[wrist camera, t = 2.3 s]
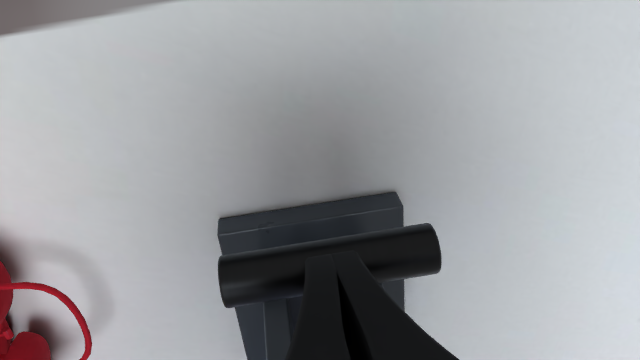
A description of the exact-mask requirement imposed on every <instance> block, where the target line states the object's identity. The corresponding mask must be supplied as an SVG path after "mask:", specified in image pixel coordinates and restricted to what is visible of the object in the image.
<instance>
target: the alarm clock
mask: <svg viewBox="0 0 640 360" xmlns="http://www.w3.org/2000/svg"><path fill="white" fill-rule="evenodd" d="M13 289H35V290H41V291H45V292H47V293H49V294H52V295H54V296H56V297H57V298H58V299H60V300H61V301H62V302H63V303H64V304H65V305H66V306H67V307H68V308H69V309H70V310H71V312H72V313H73V314H74V316H75V317H76V319H77V321H78V323H79V324H80V326H81V329H82V332H83V335H84V338H85V352H84V354H83V356H82V358H81V359H79V360H87V359H88V357H89V355H90V354H91V347H92V341H91V335H90V331H89V329H88V326H87V324H86V321H85V319H84V317H83V316H82V314H81V313H80V311H79V310H78V308H77V307H76V305H75V304H74V303H73V302H72V301H71V300H70V299H69V298H68V297H67V296H66V295H65V294H63V293H62V292H60V291H58V290H57V289H55V288H53V287H50V286H47V285H44V284H40V283H30V282H19V283H12V282H11V277H10V275H9V273H8V271H7V270H6V268H5V266H4V265H3V263H2V262H1V261H0V360H51V352H50V349H49V345H48V343H47V341H46V339H45V338H43V337H42V336H41V335H39V334H37V333H32V332H24V331H23V332H21V333H18V335H17V336H16V338H15V339H14V340H13V342H12V343H11V338H13V337H14V334H13V332H12V331H11V329H10V327H9V325H8V323H7V321H6V318H5V317H6V315H7V313H8V311H9V309H10V307H11V304H12V299H13ZM10 343H11V345H10Z"/></svg>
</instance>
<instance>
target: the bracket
mask: <svg viewBox="0 0 640 360" xmlns="http://www.w3.org/2000/svg"><path fill="white" fill-rule="evenodd" d="M399 227H403V205H402V203H401V201H400V199H399V197H398V195H397V193H396V192H393V193H386V194H380V195H373V196H367V197H360V198H354V199H347V200H341V201H334V202H328V203H321V204H315V205H308V206H302V207H295V208H289V209H282V210H276V211H269V212H263V213H256V214H250V215H243V216H237V217H230V218H223V219H219V220H218V234H217V235H218V239H219V244H220V248H221V252H222V255H228V254H235V253H241V252H247V251H254V250H260V249H266V248H273V247H279V246H285V245H291V244H298V243H304V242H310V241H317V240H323V239H329V238H336V237H342V236H348V235H355V234H361V233H367V232H374V231H380V230H386V229H392V228H399ZM379 284H380V285H381V286H382V287H383V289H384V290H385V291H386V292H387V293H388V294H389V295H390V297H391V298H392V299H393V300H394V301H395V302H396V303H397V304H398V305H399V307H400V308H401V309H402V310H403V311H404V279H401V280H395V281H389V282H383V283H379ZM302 297H303V296H298V297H292V298H286V299H280V300H274V301H268V302H262V303H256V304H250V305H244V306H238V307H235V310H236V314H237V318H238V322H239V326H240V331H241V335H242V339H243V343H244V347H245V351H246V355H247V360H285V358H286V355H287V352H288V349H289V346H290V343H291V340H292V337H293V333H294V330H295V327H296V323H297V320H298V316H299V311H300V306H301V301H302Z"/></svg>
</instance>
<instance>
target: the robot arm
mask: <svg viewBox="0 0 640 360" xmlns="http://www.w3.org/2000/svg"><path fill="white" fill-rule="evenodd" d="M285 360H459V359H458V358H456V357H455V356H454V355H453V354H451V353H450V352H449V351H448V350H446V349H445V348H444V347H442V346H441V345H440V344H439V343H438V342H436V341H435V340H434V339H433V338H432V337H431V336H429V335H428V334H427V333H426V332H425V331H424V330H423V329H422V328H421V327H420V326H418V325H417V324H416V323H415V322H414V321H413V320H412V319H411V318H410V317H409V316H408V315H407V314H406V313H405V312H404V311H403V310H402V309H401V308H400V307H399V305H398V304H397V303H396V302H395V301H394V300H393V299H392V298H391V297H390V295H389V294H388V293H387V292H386V291H385V290H384V289H383V287H382V286H381V285H380V284H379V283H378V281H377V280H376V279H375V277H374V276H373V275H372V274H371V272H370V271H369V270H368V268H367V267H366V265H365V264H364V262H363V261H362V259H361V258H360V256H359V254H358V253H357V252H355V251H354V250H352V251H345V252H339V253H333V254H327V255H320V256H314V257H308V258H307V259H306V261H305V283H304V291H303V297H302V301H301V306H300V311H299V316H298V320H297V323H296V327H295V330H294V333H293V337H292V340H291V343H290V346H289V349H288V352H287V355H286V358H285Z"/></svg>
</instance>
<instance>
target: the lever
mask: <svg viewBox="0 0 640 360" xmlns="http://www.w3.org/2000/svg"><path fill="white" fill-rule="evenodd" d="M352 250H354V251H355V252H357V253H358V254H359V256H360V258H361V259H362V261H363V262H364V264H365V265H366V267H367V268H368V270H369V271H370V272H371V274H372V275H373V276H374V277H375V279H376V280H377V281H378V283H383V282H389V281H395V280H401V279H407V278H413V277H419V276H425V275H431V274H437V273H438V272H439V271H440V269H441V250H440V245H439V241H438V237H437V235H436V232H435V230H434V228H433V227H432V225H431V224H429V223H424V224H418V225H411V226H405V227H399V228H392V229H386V230H380V231H374V232H367V233H361V234H355V235H348V236H342V237H336V238H329V239H323V240H317V241H310V242H304V243H298V244H291V245H285V246H279V247H273V248H266V249H260V250H254V251H247V252H241V253H235V254H228V255H222V256H220V257H219V260H218V278H219V286H220V292H221V297H222V301H223V303H224V305H225V307H226V308H232V307H238V306H244V305H250V304H256V303H262V302H268V301H274V300H280V299H286V298H292V297H298V296H303V291H304V283H305V261H306V259H307V258H308V257H314V256H320V255H327V254H333V253H339V252H345V251H352Z"/></svg>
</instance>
